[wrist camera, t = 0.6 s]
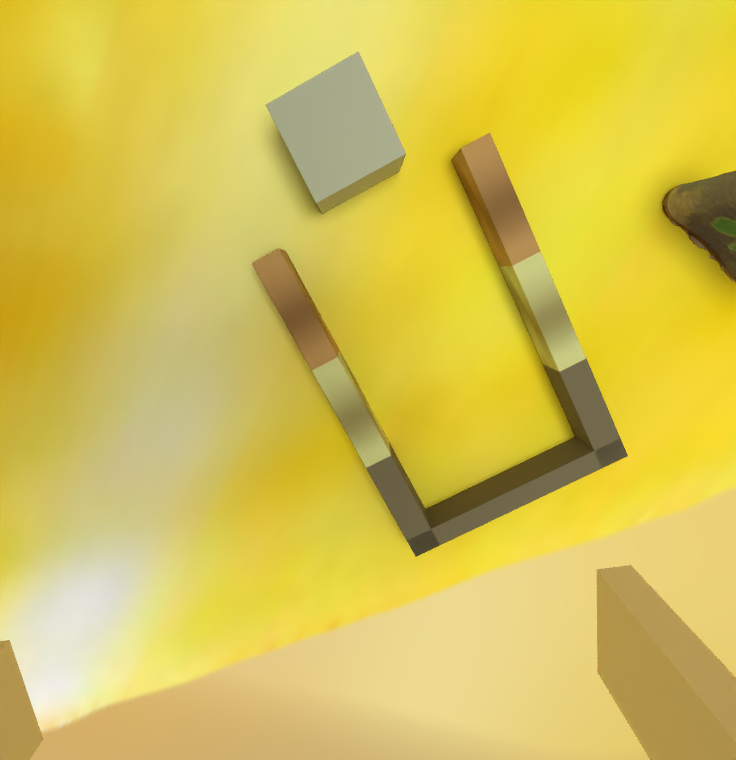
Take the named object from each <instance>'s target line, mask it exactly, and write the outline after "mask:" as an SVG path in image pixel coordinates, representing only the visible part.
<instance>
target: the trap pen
mask: <svg viewBox="0 0 736 760" xmlns="http://www.w3.org/2000/svg"><path fill="white" fill-rule="evenodd" d="M543 365H544V364H543ZM544 368H545V370H546V372H547V374H548V376H549V379H550V381H551V383H552V385H553V388H554V390H555V392H556V394H557V396H558V399H559V401H560V403H561V405H562V408H563V410H564V412H565V414H566V417H567V419H568V421H569V423H570V425H571V428H572V430H573V432H574V434H575V438H573V439H570V440H568V441H566V442H564V443H562V444H560V445H558V446H556V447H554V448H552V449H550V450H548V451H546V452H544V453H542V454H539V455H537V456H535V457H533V458H531V459H529V460H527V461H525V462H523V463H521V464H519V465H517V466H515V467H513V468H511V469H508V470H506V471H504V472H502V473H500V474H498V475H496V476H494V477H492V478H490V479H488V480H486V481H484V482H482V483H480V484H477V485H475V486H473V487H471V488H469V489H467V490H465V491H463V492H461V493H459V494H457V495H455V496H453V497H451V498H449V499H446V500H444V501H442V502H440V503H438V504H436V505H434V506H432V507H430V508H428V509H425V508H424V506H423V504H422V502H421V500H420V498H419V497H418V495H417V493H416V491H415V489H414V487H413V485H412V484H411V482H410V480H409V478H408V476H407V474H406V473H405V471H404V469H403V467H402V465H401V463H400V461H399V460H398V458H397V456H396V454H395V452H394V450H393V448H392V447H391V445H390V443H389V446H390V452H391V456H389V457H387V458H385V459H383V460H381V461H379V462H377V463H375V464H373V465H371V466H369V467H367V470H368V472H369V474H370V476H371V477H372V479H373V481H374V483H375V485H376V486H377V488H378V490H379V492H380V493H381V495H382V497H383V499H384V501H385V502H386V504H387V506H388V508H389V510H390V511H391V513H392V515H393V517H394V518H395V520H396V522H397V524H398V526H399V527H400V529H401V531H402V533H403V535H404V536H405V538H406V540H407V542H408V544H409V545H410V547H411V549H412V551H413V552H414V554H415V556H418V555H420V554H423V553H425V552H427V551H429V550H431V549H433V548H435V547H437V546H439V545H441V544H444V543H446V542H448V541H450V540H452V539H454V538H456V537H458V536H460V535H463V534H465V533H467V532H469V531H471V530H473V529H475V528H477V527H479V526H481V525H484V524H486V523H488V522H490V521H492V520H494V519H496V518H498V517H500V516H502V515H505V514H507V513H509V512H511V511H513V510H515V509H517V508H519V507H521V506H523V505H526V504H528V503H530V502H532V501H534V500H536V499H538V498H540V497H542V496H545V495H547V494H549V493H551V492H553V491H555V490H557V489H559V488H561V487H563V486H566V485H568V484H570V483H572V482H574V481H576V480H578V479H580V478H582V477H584V476H587V475H589V474H591V473H593V472H595V471H597V470H599V469H601V468H603V467H606V466H608V465H610V464H612V463H614V462H616V461H618V460H620V459H622V458H624V457H627V456H628V455H627V453H626V450H625V448H624V446H623V443H622V441H621V439H620V436H619V434H618V432H617V429H616V427H615V425H614V422H613V420H612V418H611V415H610V413H609V411H608V408H607V406H606V404H605V401H604V399H603V397H602V394H601V392H600V390H599V387H598V385H597V383H596V380H595V378H594V375H593V373H592V371H591V368H590V366H589V364H588V361H587V359H584V360H582V361H580V362H578V363H576V364H574V365H572V366H570V367H568V368H566V369H564V370H562V371H560V372H559V371H557V370H554V369H552V368H550V367H548V366H546V365H544Z"/></svg>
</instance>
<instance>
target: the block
mask: <svg viewBox="0 0 736 760" xmlns="http://www.w3.org/2000/svg"><path fill="white" fill-rule="evenodd" d="M266 107H267V109H268V111H269V113H270V115H271V117H272V118H273V120H274V122H275V124H276V126H277V128H278V130H279V132H280V134H281V136H282V138H283V140H284V142H285V144H286V146H287V148H288V150H289V152H290V154H291V155H292V157H293V159H294V161H295V163H296V165H297V167H298V169H299V171H300V173H301V175H302V177H303V179H304V181H305V183H306V185H307V187H308V189H309V190H310V192H311V194H312V196H313V198H314V200H315V202H316V204H317V206H318V207H319V209H320V211H321V212H322V214H323V213H325V212H327V211H328V210H330V209H332V208H334V207H336V206H338V205H339V204H341V203H343V202H345V201H347V200H348V199H350V198H352V197H354V196H356V195H358V194H359V193H361V192H363V191H365V190H367V189H369V188H370V187H372V186H374V185H376V184H378V183H379V182H381V181H383V180H385V179H387V178H389V177H390V176H392V175H394V174H396V173H398V172H399V171H400V168H401V166H402V163H403V160H404V158H405V155H406V153H405V151H404V148H403V146H402V144H401V142H400V140H399V138H398V136H397V133H396V131H395V129H394V127H393V125H392V123H391V120H390V118H389V116H388V114H387V112H386V110H385V108H384V105H383V103H382V101H381V99H380V97H379V95H378V93H377V90H376V88H375V86H374V84H373V82H372V80H371V77H370V75H369V73H368V71H367V69H366V67H365V65H364V62H363V60H362V58H361V56H360V54H359V52H356V53H355V54H353V55H351V56H350V57H348V58H346V59H344V60H343V61H341V62H339V63H337V64H336V65H334V66H332V67H330V68H329V69H327V70H325V71H324V72H322V73H320V74H318V75H317V76H315V77H313V78H311V79H310V80H308V81H306V82H304V83H303V84H301V85H299V86H298V87H296V88H294V89H292V90H291V91H289V92H287V93H285V94H284V95H282V96H280V97H278V98H277V99H275V100H273V101H272V102H270V103H268V104H266Z"/></svg>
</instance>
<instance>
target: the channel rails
mask: <svg viewBox="0 0 736 760" xmlns="http://www.w3.org/2000/svg"><path fill="white" fill-rule="evenodd" d="M452 162H453V165H454V167H455V169H456V171H457V173H458V176H459V178H460V180H461V182H462V185H463V187H464V189H465V191H466V194H467V196H468V198H469V200H470V202H471V205H472V207H473V209H474V211H475V214H476V216H477V218H478V220H479V223H480V225H481V227H482V229H483V231H484V234H485V236H486V238H487V240H488V243H489V245H490V247H491V249H492V252H493V254H494V256H495V258H496V260H497V263H498V265H499V267H500V269H501V272H502V274H503V276H504V278H505V281H506V283H507V285H508V287H509V289H510V292H511V294H512V296H513V298H514V301H515V303H516V305H517V307H518V310H519V312H520V314H521V316H522V318H523V321H524V323H525V325H526V327H527V330H528V332H529V334H530V336H531V339H532V341H533V343H534V345H535V347H536V350H537V352H538V354H539V356H540V359H541V361H542V363H543V364H544V365H546V366H548V367H550V368H552V369H554V370H557V371H559V372H560V371H562V370H564V369H566V368H568V367H570V366H572V365H574V364H576V363H578V362H580V361H582V360H584V359H586V357H585V354H584V352H583V350H582V347H581V345H580V343H579V340H578V338H577V336H576V333H575V331H574V329H573V326H572V324H571V322H570V319H569V317H568V315H567V312H566V310H565V308H564V305H563V303H562V301H561V298H560V296H559V293H558V291H557V289H556V286H555V284H554V282H553V279H552V277H551V275H550V272H549V270H548V268H547V265H546V263H545V261H544V258H543V256H542V254H541V251H540V249H539V247H538V244H537V242H536V240H535V237H534V235H533V233H532V230H531V228H530V226H529V223H528V221H527V218H526V216H525V214H524V211H523V209H522V207H521V204H520V202H519V200H518V197H517V195H516V193H515V190H514V188H513V186H512V183H511V181H510V179H509V176H508V174H507V172H506V169H505V167H504V165H503V162H502V160H501V158H500V155H499V153H498V151H497V148H496V146H495V144H494V141H493V139H492V136H491V134H490V133H488V134H486V135H485V136H483V137H481V138H479V139H477V140H476V141H474V142H472V143H470V144H468V145H466V146H465V147H463V148H461V149H460V150H459V151H458V153H457V154H456V155H455V156H454V158H453V159H452ZM252 265H253V266H254V268H255V270H256V272H257V274H258V275H259V277H260V279H261V281H262V283H263V284H264V286H265V288H266V290H267V291H268V293H269V295H270V297H271V299H272V300H273V302H274V304H275V306H276V308H277V309H278V311H279V313H280V315H281V316H282V318H283V320H284V322H285V324H286V325H287V327H288V329H289V331H290V333H291V334H292V336H293V338H294V340H295V342H296V343H297V345H298V347H299V349H300V350H301V352H302V354H303V356H304V358H305V359H306V361H307V363H308V365H309V367H310V368H311V370H312V372H313V374H314V375H315V377H316V379H317V381H318V383H319V384H320V386H321V388H322V390H323V392H324V393H325V395H326V397H327V399H328V400H329V402H330V404H331V406H332V408H333V409H334V411H335V413H336V415H337V417H338V418H339V420H340V422H341V424H342V426H343V427H344V429H345V431H346V433H347V434H348V436H349V438H350V440H351V442H352V443H353V445H354V447H355V449H356V451H357V452H358V454H359V456H360V458H361V459H362V461H363V463H364V465H365V467H366V468H367V467H369V466H371V465H373V464H375V463H377V462H379V461H381V460H383V459H385V458H387V457H389V456H391V452H390V446H389V441H388V439H387V437H386V436H385V434H384V432H383V430H382V428H381V426H380V424H379V423H378V421H377V419H376V417H375V415H374V413H373V412H372V410H371V408H370V406H369V404H368V402H367V400H366V399H365V397H364V395H363V393H362V391H361V389H360V388H359V386H358V384H357V382H356V380H355V378H354V376H353V375H352V373H351V371H350V369H349V367H348V365H347V363H346V362H345V360H344V358H343V356H342V354H341V352H340V351H339V349H338V347H337V345H336V343H335V341H334V339H333V338H332V336H331V334H330V332H329V330H328V328H327V327H326V325H325V323H324V321H323V319H322V317H321V315H320V314H319V312H318V310H317V308H316V306H315V304H314V302H313V301H312V299H311V297H310V295H309V293H308V291H307V290H306V288H305V286H304V284H303V282H302V280H301V278H300V277H299V275H298V273H297V271H296V269H295V267H294V266H293V264H292V262H291V260H290V258H289V256H288V254H287V253H286V251H284V250H281V249H277V250H275V251H273V252H272V253H270V254H268V255H266V256H264V257H262V258H261V259H259V260H257V261H255V262H253V263H252Z"/></svg>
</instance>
